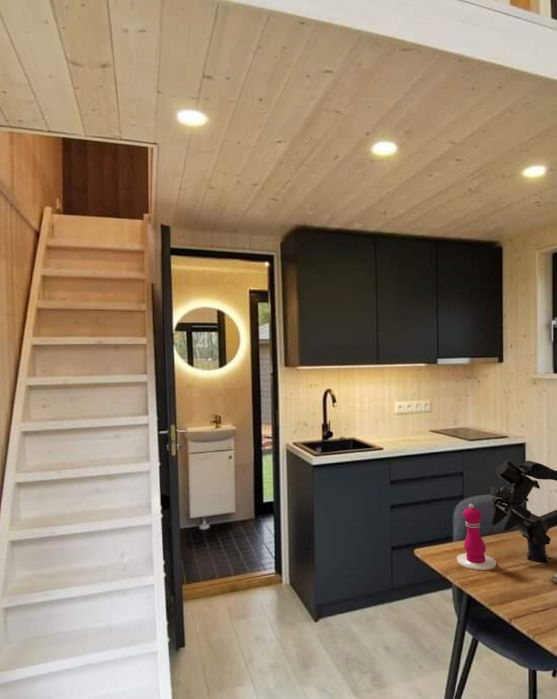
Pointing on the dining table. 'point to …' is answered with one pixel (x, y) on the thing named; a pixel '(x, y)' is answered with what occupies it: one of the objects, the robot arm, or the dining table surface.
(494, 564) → the ceramic plate
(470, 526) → the pepper mill
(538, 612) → the dining table surface
